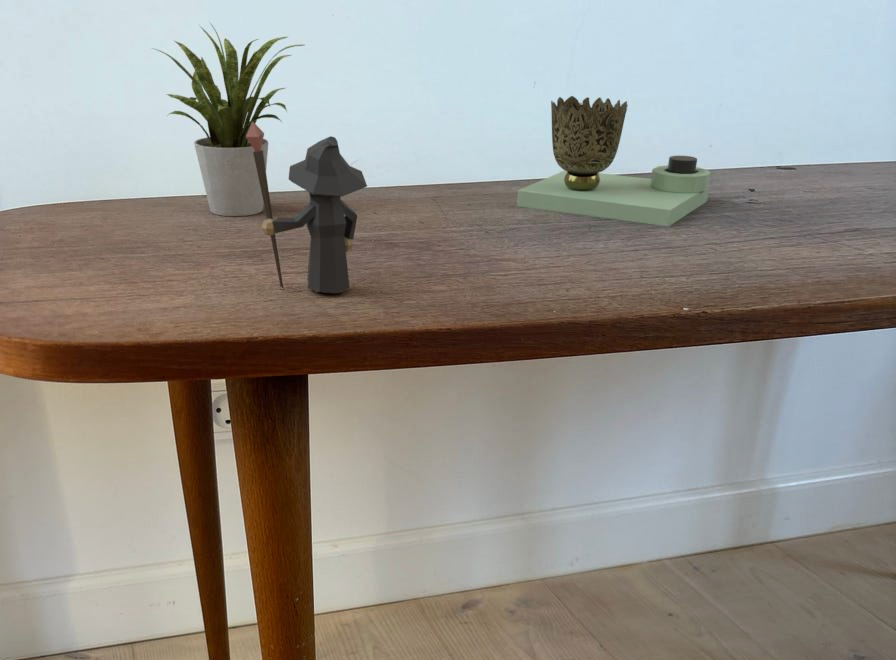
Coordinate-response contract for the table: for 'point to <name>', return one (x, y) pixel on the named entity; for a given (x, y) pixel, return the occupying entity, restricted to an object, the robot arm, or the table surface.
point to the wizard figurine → (317, 210)
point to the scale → (623, 196)
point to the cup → (585, 138)
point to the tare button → (682, 164)
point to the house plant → (229, 127)
